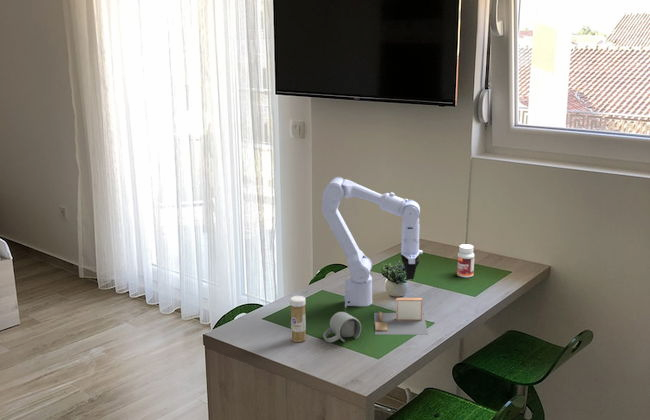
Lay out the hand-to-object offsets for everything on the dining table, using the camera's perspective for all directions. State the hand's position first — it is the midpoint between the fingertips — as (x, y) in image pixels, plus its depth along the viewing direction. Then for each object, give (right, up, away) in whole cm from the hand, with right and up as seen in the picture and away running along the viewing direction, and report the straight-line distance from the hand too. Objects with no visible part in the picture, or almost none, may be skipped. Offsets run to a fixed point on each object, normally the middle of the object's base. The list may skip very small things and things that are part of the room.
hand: (409, 277), depth 228 cm
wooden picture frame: (-1, -12, -9) cm, 15 cm away
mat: (-5, -14, -12) cm, 19 cm away
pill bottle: (+25, -2, +31) cm, 39 cm away
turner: (-10, -14, -10) cm, 20 cm away
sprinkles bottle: (-36, -17, -20) cm, 44 cm away
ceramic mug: (-23, -17, -19) cm, 35 cm away
